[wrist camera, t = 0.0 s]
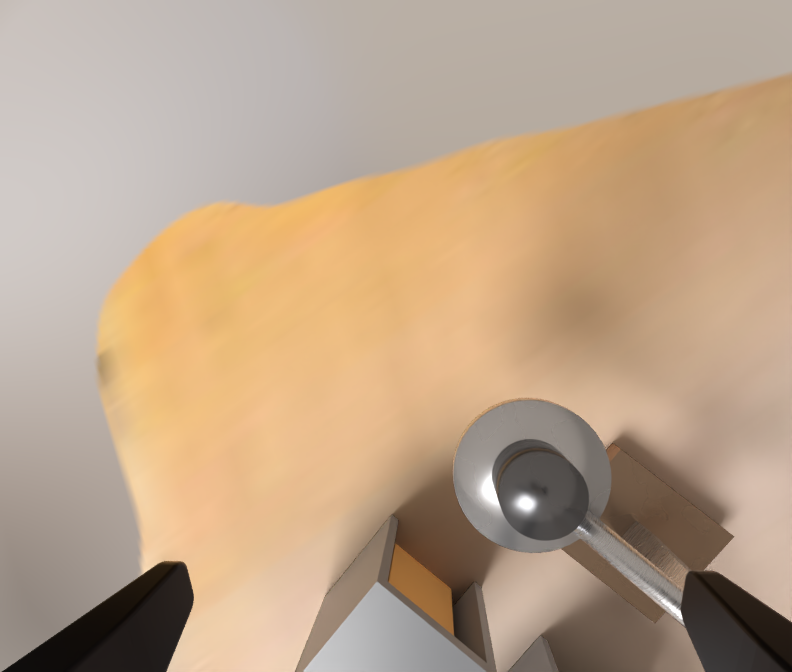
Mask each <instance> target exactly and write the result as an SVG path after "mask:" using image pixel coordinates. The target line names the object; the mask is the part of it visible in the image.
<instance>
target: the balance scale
mask: <svg viewBox="0 0 792 672" xmlns="http://www.w3.org/2000/svg"><path fill="white" fill-rule="evenodd" d="M453 482H454V488H455V493H456V496H457V499H458V502H459V505H460V507H461V509H462V511H463V513H464V514H465V516H466V517H467V519H468V520H469V521H470V523H471V524H472V525H473V526H474V527H475V528H476V529H477V530H478V531H479V532H480V533H481V534H482V535H484V536H485V537H486V538H488V539H489V540H491V541H493V542H494V543H496V544H498V545H500V546H503V547H505V548H508V549H511V550H515V551H519V552H528V553H541V552H549V551H553V550H557V549H560V548H561V549H562V550H563V551H565V552H566V553H567V554H568V555H570V556H571V557H572V558H573V559H575V560H576V561H577V562H579V563H580V564H581V565H582V566H584V567H585V568H586V569H587V570H589V571H590V572H591V573H592V574H594V575H595V576H596V577H597V578H599V579H600V580H601V581H602V582H604V583H605V584H606V585H607V586H609V587H610V588H611V589H612V590H614V591H615V592H616V593H617V594H619V595H620V596H621V597H623V598H624V599H625V600H626V601H628V602H629V603H630V604H631V605H633V606H634V607H635V608H636V609H638V610H639V611H640V612H641V613H643V614H644V615H645V616H646V617H648V618H649V619H650V620H651V621H653V622H654V623H656V622H657V621H658V620H659V618H660V617H661V616H662V615H663V614H664V613H665V612H667V613H669V614H670V615H671V616H672V617H673V618H674V619H676V620H677V621H678V622H679V623H680V624H682V625H683V626H684V627H685V625H684V622H683V619H682V615H681V601H682V595H683V590H684V584H685V578H686V574H687V573H688V572H689V571H692V570H704V569H705V568H706V567H707V566H708V565H709V564H710V563H711V561H712V560H713V559H714V558H715V557H716V556H717V555H718V554H719V553H720V552H721V551H722V549H723V548H724V547H725V546H726V545H727V544H728V543H729V542H730V541H731V540H732V538H733V537H734V536H733V535H731V534H730V533H729V532H728V531H726V530H725V529H724V528H722V527H721V526H720V525H718V524H717V523H716V522H715V521H713V520H712V519H711V518H709V517H708V516H707V515H706V514H704V513H703V512H702V511H700V510H699V509H698V508H696V507H695V506H694V505H693V504H691V503H690V502H689V501H687V500H686V499H685V498H684V497H682V496H681V495H680V494H678V493H677V492H676V491H674V490H673V489H672V488H671V487H669V486H668V485H667V484H665V483H664V482H663V481H661V480H660V479H659V478H658V477H656V476H655V475H654V474H652V473H651V472H650V471H649V470H647V469H646V468H645V467H643V466H642V465H641V464H639V463H638V462H637V461H636V460H634V459H633V458H632V457H630V456H629V455H628V454H627V453H625V452H624V451H623V450H621V449H620V448H618V447H617V446H616V445H614V444H613V443H612V444H611V445H610V447H609V448H608V449H607V450H605V448H604V445H603V443H602V441H601V440H600V438H599V437H598V435H597V434H596V432H595V431H594V430H593V429H592V428H591V427H590V425H589V424H587V423H586V422H585V421H584V420H583V419H582V418H581V417H579V416H578V415H576V414H575V413H573V412H572V411H570V410H569V409H567V408H565V407H563V406H561V405H559V404H556V403H553V402H551V401H547V400H542V399H535V398H518V399H512V400H508V401H504V402H501V403H498V404H496V405H494V406H492V407H490V408H488V409H487V410H485V411H484V412H482V413H481V414H480V415H478V416H477V417H476V418H475V419H474V420H473V421H472V422H471V423H470V424H469V425H468V427H467V428H466V429H465V431H464V432H463V434H462V436H461V438H460V440H459V442H458V444H457V447H456V450H455V454H454V459H453ZM685 628H686V627H685Z"/></svg>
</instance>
